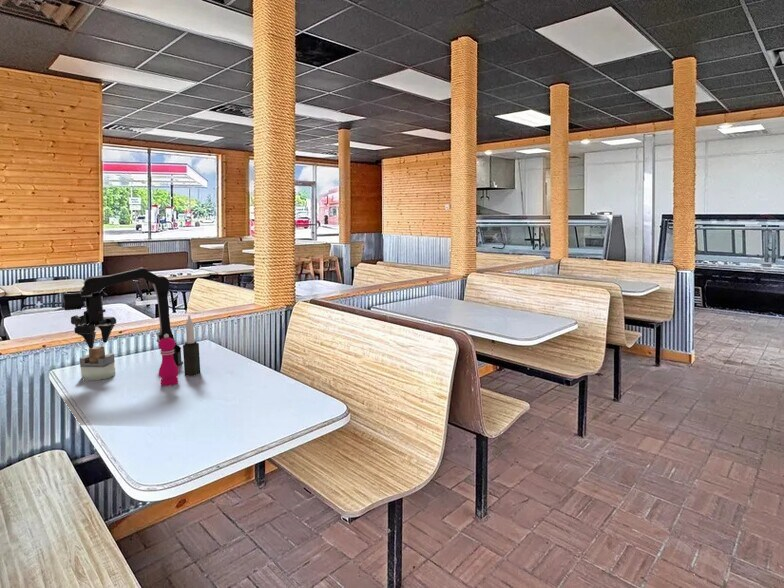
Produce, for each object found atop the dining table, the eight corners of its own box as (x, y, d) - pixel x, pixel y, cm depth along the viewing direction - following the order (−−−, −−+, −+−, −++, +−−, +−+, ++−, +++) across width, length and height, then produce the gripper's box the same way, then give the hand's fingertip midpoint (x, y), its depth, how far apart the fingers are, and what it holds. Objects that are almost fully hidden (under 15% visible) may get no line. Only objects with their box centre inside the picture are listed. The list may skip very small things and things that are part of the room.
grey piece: (121, 371, 212) (120, 360, 211) (104, 381, 200) (103, 369, 200) (93, 371, 213) (92, 359, 212) (74, 380, 201) (73, 368, 200)
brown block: (105, 362, 208) (104, 346, 207) (99, 365, 204) (98, 349, 203) (96, 362, 208) (94, 346, 207) (90, 365, 204) (88, 348, 203)
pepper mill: (174, 386, 195) (171, 336, 192) (156, 386, 195) (152, 335, 192) (182, 380, 202) (179, 331, 199) (164, 380, 202) (161, 331, 199)
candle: (194, 376, 207) (191, 316, 203) (183, 375, 208) (179, 316, 204) (201, 372, 212) (198, 314, 208) (190, 371, 213) (187, 313, 209)
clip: (114, 361, 209) (114, 353, 209) (103, 367, 202) (102, 358, 201) (92, 361, 210) (91, 353, 209) (80, 366, 202) (79, 358, 202)
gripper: (89, 303, 212) (93, 339, 214) (59, 312, 194) (63, 351, 196) (115, 303, 212) (118, 339, 214) (87, 312, 193) (91, 351, 196)
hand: (98, 345), depth 205 cm, fingers open, 9 cm apart
